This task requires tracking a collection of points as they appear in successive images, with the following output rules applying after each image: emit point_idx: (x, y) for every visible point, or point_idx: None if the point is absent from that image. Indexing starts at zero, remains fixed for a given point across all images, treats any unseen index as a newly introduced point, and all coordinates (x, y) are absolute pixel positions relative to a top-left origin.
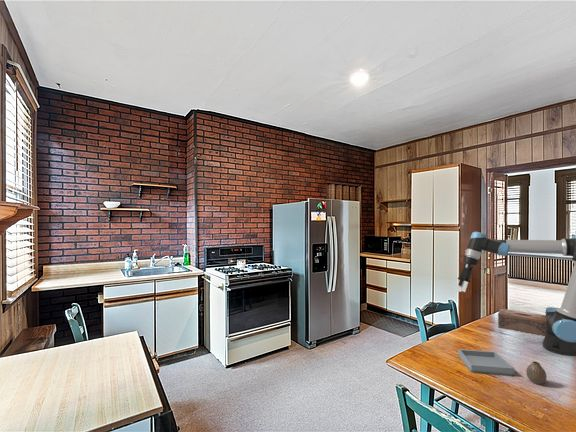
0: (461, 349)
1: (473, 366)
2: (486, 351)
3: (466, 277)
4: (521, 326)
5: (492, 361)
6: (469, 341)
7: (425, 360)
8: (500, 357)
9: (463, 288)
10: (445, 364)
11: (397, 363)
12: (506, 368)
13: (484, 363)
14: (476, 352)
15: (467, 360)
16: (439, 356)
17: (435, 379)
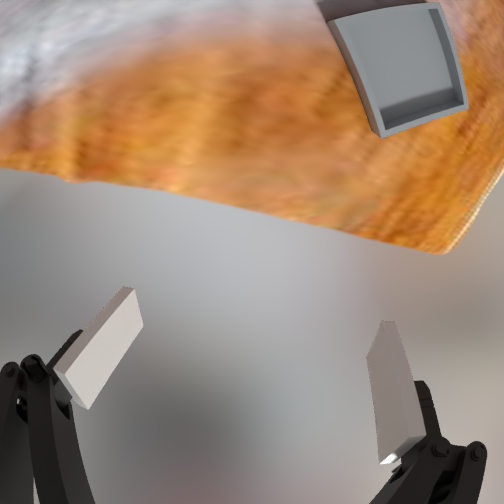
0: (379, 128)
1: (466, 102)
2: (351, 48)
3: (68, 443)
4: None
5: (379, 36)
6: (199, 114)
7: (431, 202)
8: (380, 13)
9: (122, 328)
10: (438, 159)
11: (453, 242)
12: (445, 20)
13: (408, 62)
14: (366, 80)
15: (449, 114)
16: (399, 177)
17: (494, 174)
